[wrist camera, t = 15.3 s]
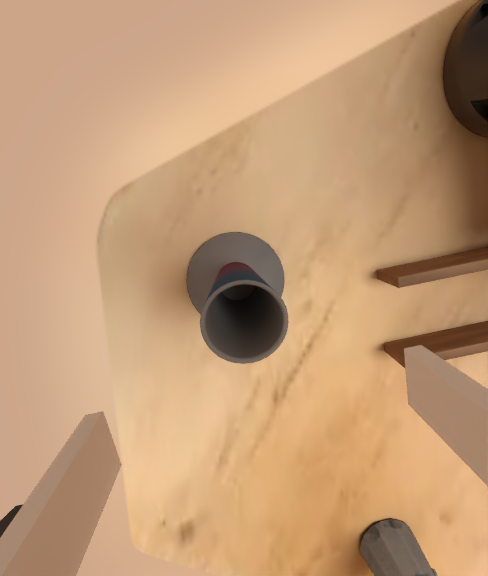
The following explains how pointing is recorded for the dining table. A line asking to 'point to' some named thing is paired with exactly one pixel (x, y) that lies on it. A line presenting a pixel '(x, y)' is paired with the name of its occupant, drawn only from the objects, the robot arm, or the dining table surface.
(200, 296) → the coaster
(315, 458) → the dining table surface
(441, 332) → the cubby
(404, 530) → the moka pot
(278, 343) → the cup
